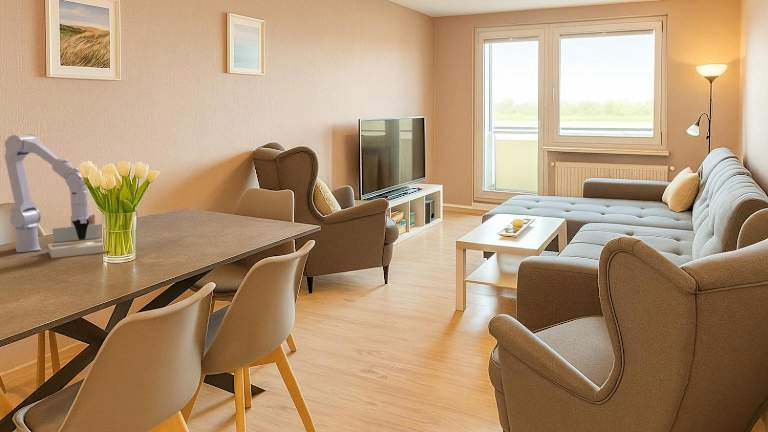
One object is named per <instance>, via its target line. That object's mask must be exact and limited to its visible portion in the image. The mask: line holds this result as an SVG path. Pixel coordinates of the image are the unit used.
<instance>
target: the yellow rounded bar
mask: <svg viewBox="0 0 768 432" xmlns="http://www.w3.org/2000/svg"><path fill="white" fill-rule="evenodd" d="M92 243H94V242H84V243H74V244H68V246H72V245H82V244H92Z"/></svg>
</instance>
